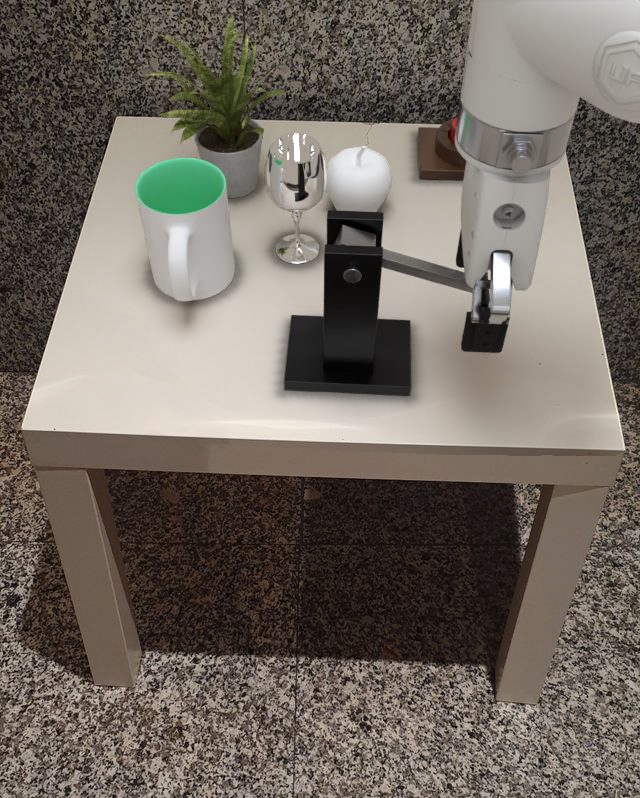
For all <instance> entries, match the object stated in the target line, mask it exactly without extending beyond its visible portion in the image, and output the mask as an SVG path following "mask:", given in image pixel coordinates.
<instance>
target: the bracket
mask: <svg viewBox="0 0 640 798" xmlns="http://www.w3.org/2000/svg"><path fill="white" fill-rule="evenodd" d="M384 213H385V212H383V211H377V212H363V211H338V210H337V209H336V210H333V209H327V214H326V244H324V249H323V315H306V314H305V315H304V314H303V315H302V314H301V315H300V314H291V315H290V324H289V331H288V332H289V333H288V343H287V349H286V350H287V352H286V360H285V370H284V377H283V385H284V386H283V387H284V390H285V391H299V392H300V391H304V392H325V393H343V394H363V395H364V394H365V395H384V396H385V395H388V396H407V397H409V396H411V390H412V354H411V352H412V348H411V347H412V346H411V343H412V342H411V339H412V338H411V320H410V319H393V318H392V319H391V318H379V308H380V307H379V306H380V296H381V295H380V294H381V285H382V283H381V282H382V270H383V268H382V260H383V249H384V247H383V246H382V243H383V232H384V217H385V215H384ZM342 225H345V226H349V227H352V228H355V229H359V230H362V231H366V232H369V233H372V234H376V246H354V245H334V243H335V240H336V238H337V236H338V234H339V231H340V229H341V227H342Z"/></svg>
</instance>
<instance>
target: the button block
mask: <svg viewBox="0 0 640 798" xmlns="http://www.w3.org/2000/svg"><path fill="white" fill-rule="evenodd" d="M454 119H455V118H453V119H450V120H449V119H448V120H446V121H444V122H443V123H442V124H440V126H439V127H423V126H419V127H417V150H418V151H417V152H418V170H419V171H418V172H419V174H418V175H419V179H420V180H446V181H447V180H449V181H463V180H464V173H465V167H466V160H465V159H464V158H463V157H462V156H461V154H460V153H459V152H458V151H457V148H456V146H455V143H453V142H452V141H451V139H450V132H451V125H452V121H453V120H454Z"/></svg>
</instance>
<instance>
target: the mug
mask: <svg viewBox="0 0 640 798" xmlns="http://www.w3.org/2000/svg"><path fill="white" fill-rule="evenodd" d="M134 192H135V198H136V202H137V206H138V211H139V212H138V213H139V216H140V220H141V225H142V231H143V235H144V240H145V244H146V249H147V254H148V258H149V263H150V269H151V273H152V277H153V281H154V284H155V286H156V288H158V290H159V291H161V292H162V293H163V294H165V295H166V296H168V297H171V298H173V299H174V300H176V301H178V302H190V301H200V300H206V299H208V298H211V297H214V296H216V295H218V294H219V293H221V292H223V291H224V290H225V289H226V288H228V287H229V285H231V283H232V282H233V280H234V277H235V273H236V265H235V255H234V254H235V253H234V247H233V236H232V226H231V217H230V208H229V198H228V197H227V187H226V179H225V176H224V174H223V173H222V171H221V170H220V169H219V168H218V167H216V166H215V165H213V164H211V163H209V162H207V161H204V160H201V158H200V159H199V158H195V157H176V158H170V159H169V158H168V159H165V160H162V161H159V162H157V163H155V164H153V165H151V166H149V167H147V169H145V170H144V171H143V172H142V173H141V174H140V175H139V176H138V177H137V180H136V182H135V185H134Z"/></svg>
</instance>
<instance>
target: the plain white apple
mask: <svg viewBox="0 0 640 798" xmlns="http://www.w3.org/2000/svg"><path fill="white" fill-rule="evenodd" d="M326 173H327V184H326V189H325V192H326V194H327V196H328V197H329V199H330V200H331V202H332V205H333V206H334V208H335V209H336V210H338V211H363V212H378V210H379V209H380V208H381V207H382V205H383V203H384V202H385V201H386V199H387V198H388V196H389V194H390V191H391V188H392V186H393V185H392V184H393V174H392V173H393V172H392V168H391V166H390V164H389V162H388V160H387V159H386V157H385V156H384V155H383V154H381V153H379V152H378V151H375V150H373V149H371V148H369V147H367V146H366V145H362V146H355V147H348V148H344V149H342V150H340V151H338V152H337V153H336V154H334V156H332V158H331V159H330V160H329V161H328V163H326Z"/></svg>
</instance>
